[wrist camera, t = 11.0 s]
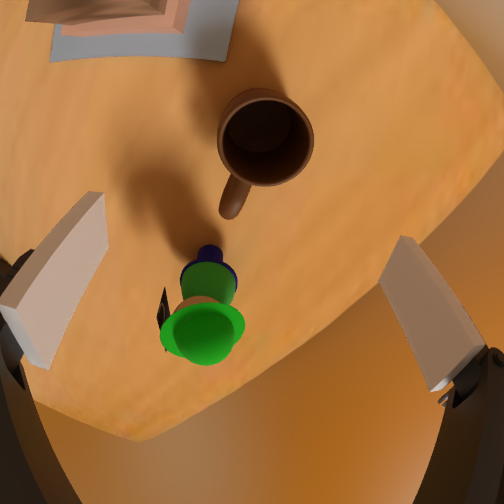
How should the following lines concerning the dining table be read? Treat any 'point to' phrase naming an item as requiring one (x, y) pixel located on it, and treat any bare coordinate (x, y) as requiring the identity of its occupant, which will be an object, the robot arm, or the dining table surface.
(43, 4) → the walnut block
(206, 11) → the plate
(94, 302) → the dining table surface
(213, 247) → the toy
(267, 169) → the mug
